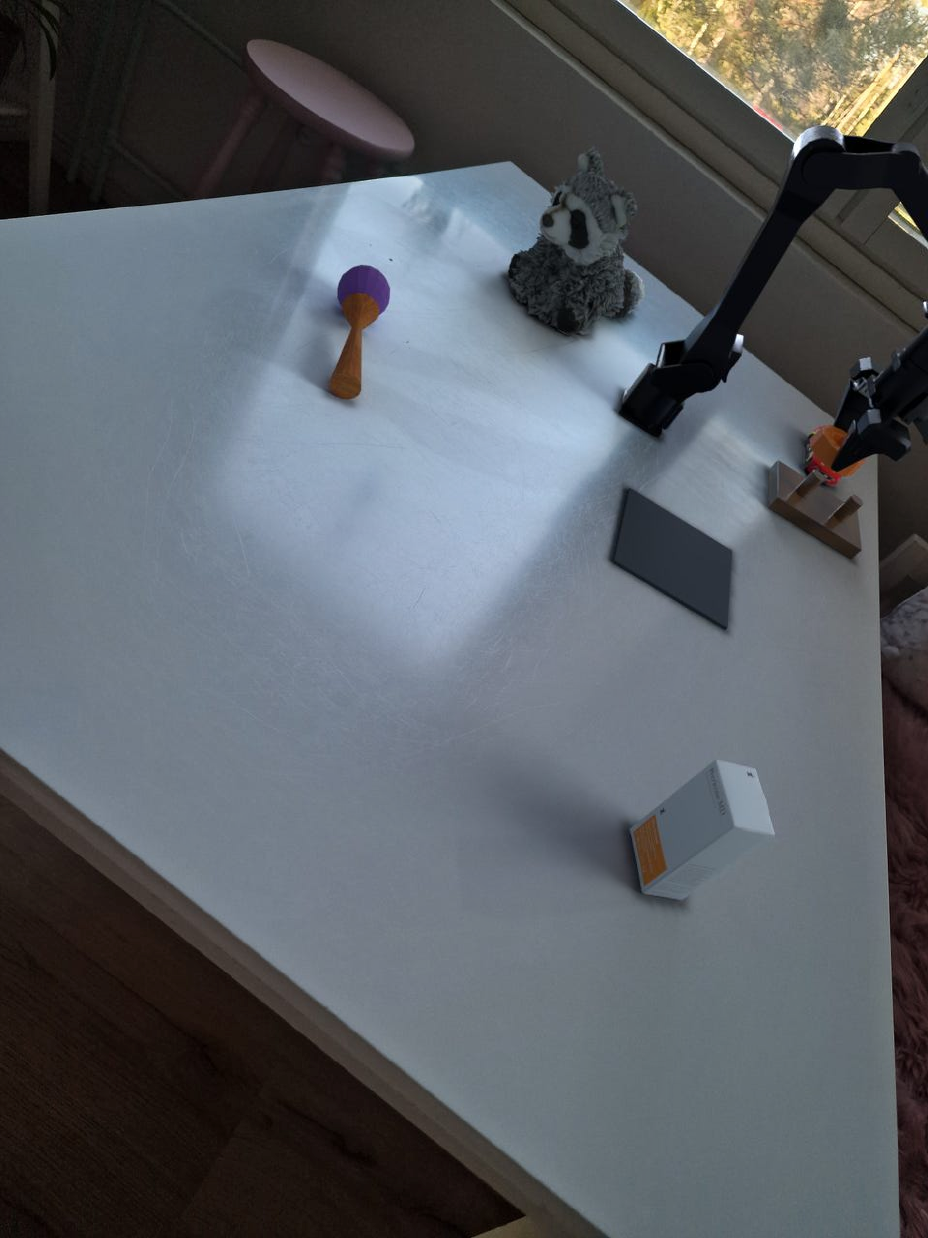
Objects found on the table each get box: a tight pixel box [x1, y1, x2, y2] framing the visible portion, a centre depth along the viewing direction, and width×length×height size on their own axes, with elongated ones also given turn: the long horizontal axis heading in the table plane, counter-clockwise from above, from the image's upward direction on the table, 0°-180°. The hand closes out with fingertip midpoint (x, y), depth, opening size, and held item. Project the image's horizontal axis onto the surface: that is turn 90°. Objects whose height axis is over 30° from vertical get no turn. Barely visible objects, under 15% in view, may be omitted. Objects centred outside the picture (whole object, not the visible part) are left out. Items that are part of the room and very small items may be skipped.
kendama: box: [328, 264, 391, 401], centre depth 108 cm, size 6×6×20 cm
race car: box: [804, 425, 842, 487], centre depth 149 cm, size 13×5×4 cm, turn 161°
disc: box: [810, 424, 866, 477], centre depth 129 cm, size 7×7×2 cm
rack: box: [767, 459, 864, 560], centre depth 137 cm, size 14×10×6 cm
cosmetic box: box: [629, 759, 776, 901], centre depth 79 cm, size 6×4×12 cm
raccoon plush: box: [507, 146, 646, 337], centre depth 138 cm, size 15×32×21 cm, turn 145°
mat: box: [612, 487, 733, 630], centre depth 115 cm, size 15×15×1 cm
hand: (832, 455), depth 129 cm, fingers closed on disc, 7 cm apart
